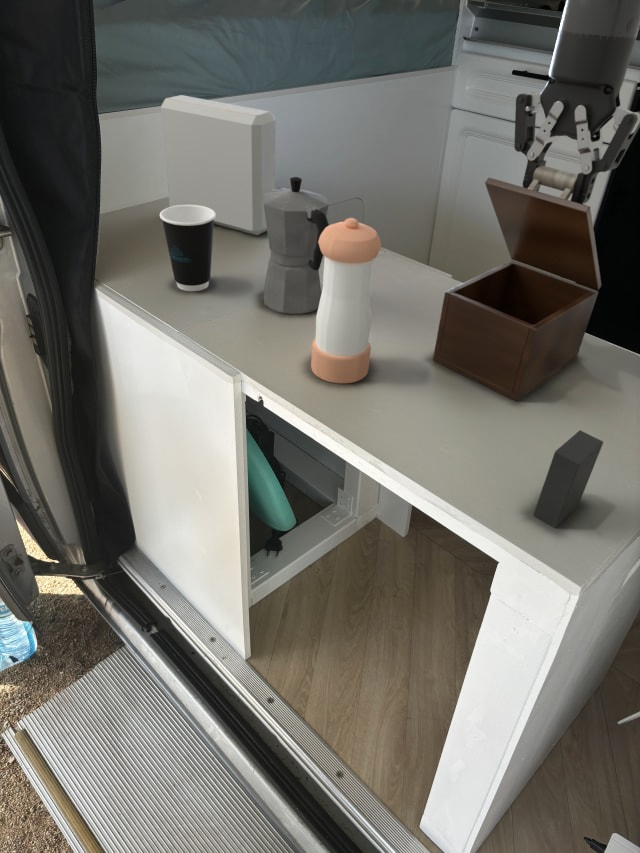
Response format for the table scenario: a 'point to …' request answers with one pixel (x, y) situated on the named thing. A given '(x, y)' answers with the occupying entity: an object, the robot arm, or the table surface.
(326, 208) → the coffeepot
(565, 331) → the chest
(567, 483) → the tall charcoal box
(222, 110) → the bevelled white case
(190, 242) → the dixie cup
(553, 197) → the lid
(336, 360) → the pepper shaker
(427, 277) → the table surface
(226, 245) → the table surface
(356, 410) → the table surface
